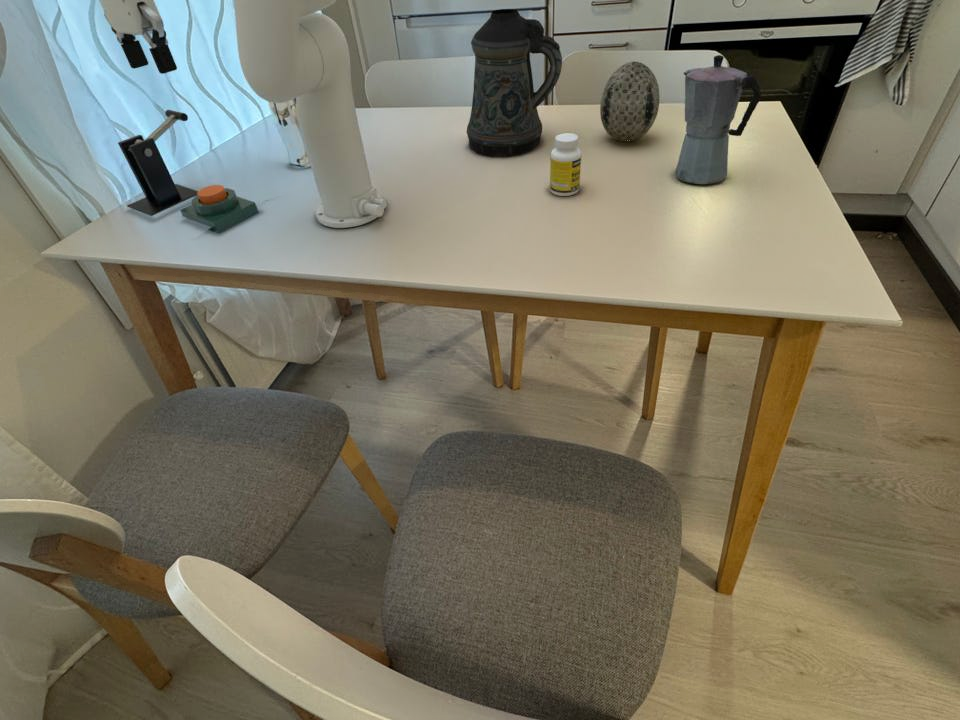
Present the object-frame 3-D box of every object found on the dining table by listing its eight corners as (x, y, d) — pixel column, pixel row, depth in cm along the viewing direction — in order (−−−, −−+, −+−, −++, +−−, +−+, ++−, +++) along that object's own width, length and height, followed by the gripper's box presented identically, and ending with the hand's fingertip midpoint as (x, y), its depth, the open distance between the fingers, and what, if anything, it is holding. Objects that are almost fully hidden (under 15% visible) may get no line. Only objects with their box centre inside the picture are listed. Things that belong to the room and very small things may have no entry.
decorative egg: (587, 138, 120) (591, 62, 109) (629, 125, 123) (637, 51, 113) (621, 155, 112) (629, 75, 102) (666, 141, 115) (678, 62, 105)
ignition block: (259, 212, 105) (251, 193, 102) (219, 234, 100) (210, 213, 97) (224, 201, 110) (216, 182, 107) (184, 220, 105) (175, 201, 102)
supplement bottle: (574, 198, 99) (576, 144, 92) (545, 195, 101) (546, 141, 94) (583, 186, 103) (586, 132, 96) (555, 182, 104) (556, 130, 98)
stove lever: (175, 116, 109) (166, 105, 107) (191, 120, 107) (182, 109, 105) (132, 157, 106) (122, 147, 104) (147, 162, 103) (137, 152, 101)
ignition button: (232, 196, 103) (229, 187, 101) (210, 207, 100) (206, 198, 99) (217, 191, 105) (214, 182, 104) (195, 201, 102) (191, 193, 101)
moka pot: (684, 157, 108) (704, 43, 95) (755, 181, 99) (789, 57, 85) (652, 172, 105) (668, 55, 91) (722, 198, 95) (752, 71, 82)
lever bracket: (178, 189, 116) (149, 127, 108) (203, 197, 112) (174, 133, 104) (129, 210, 110) (94, 147, 101) (153, 220, 106) (119, 155, 97)
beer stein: (462, 135, 127) (449, 9, 110) (543, 123, 128) (543, -3, 112) (475, 163, 114) (464, 25, 98) (565, 149, 116) (569, 11, 99)
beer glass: (311, 170, 118) (290, 96, 108) (282, 169, 120) (258, 97, 110) (324, 157, 123) (305, 85, 113) (296, 157, 125) (275, 86, 115)
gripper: (153, -52, 86) (199, 67, 98) (101, -51, 95) (148, 59, 106) (107, -44, 82) (160, 79, 93) (56, -44, 90) (111, 70, 102)
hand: (154, 69), depth 100 cm, fingers open, 9 cm apart
